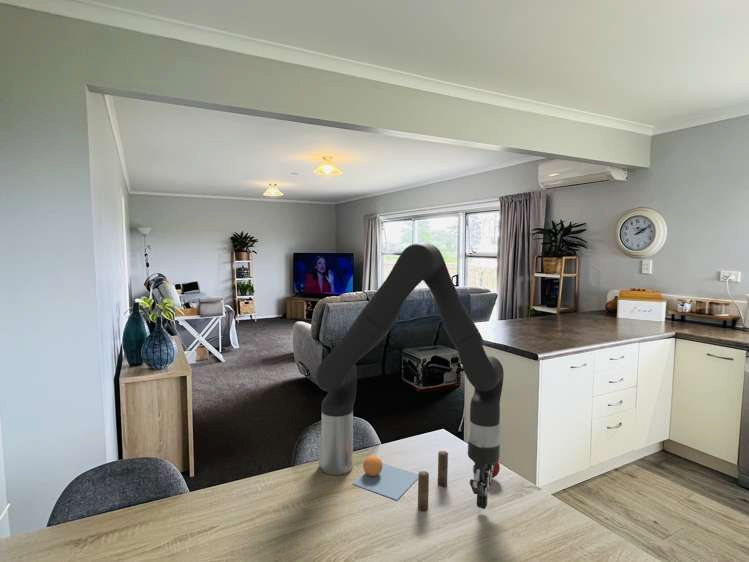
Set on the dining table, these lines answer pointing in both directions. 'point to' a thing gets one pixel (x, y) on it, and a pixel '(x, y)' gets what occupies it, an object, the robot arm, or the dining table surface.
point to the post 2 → (442, 468)
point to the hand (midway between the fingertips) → (481, 506)
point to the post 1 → (423, 490)
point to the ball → (372, 465)
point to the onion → (496, 469)
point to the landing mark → (388, 481)
